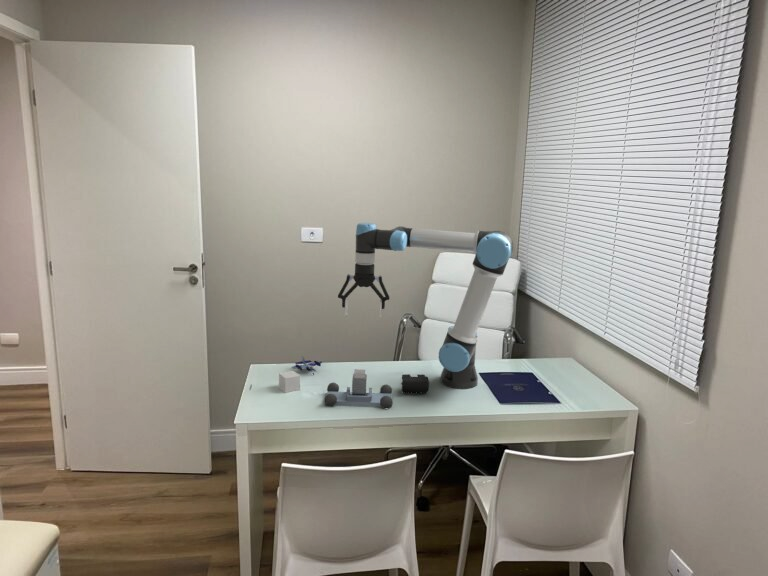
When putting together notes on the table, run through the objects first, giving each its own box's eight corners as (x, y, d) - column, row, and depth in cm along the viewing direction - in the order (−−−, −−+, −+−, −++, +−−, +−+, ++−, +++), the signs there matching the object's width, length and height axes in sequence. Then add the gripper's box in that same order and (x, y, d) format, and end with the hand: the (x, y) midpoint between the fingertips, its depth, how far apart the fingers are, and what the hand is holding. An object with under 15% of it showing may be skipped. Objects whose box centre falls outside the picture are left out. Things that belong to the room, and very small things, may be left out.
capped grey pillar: (365, 394, 214) (366, 369, 212) (365, 400, 209) (366, 374, 207) (352, 394, 214) (353, 368, 212) (351, 399, 209) (352, 373, 207)
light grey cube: (285, 393, 217) (285, 378, 215) (279, 388, 222) (278, 373, 220) (300, 390, 220) (300, 375, 219) (293, 385, 225) (293, 370, 224)
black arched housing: (402, 396, 218) (403, 379, 217) (400, 389, 225) (401, 372, 224) (428, 396, 219) (429, 379, 218) (425, 389, 226) (426, 373, 225)
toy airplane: (319, 379, 232) (319, 371, 231) (287, 375, 235) (287, 366, 234) (330, 369, 244) (330, 360, 243) (300, 365, 247) (300, 357, 247)
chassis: (391, 395, 218) (392, 384, 217) (392, 408, 206) (392, 397, 205) (327, 393, 218) (327, 382, 217) (324, 406, 206) (324, 395, 205)
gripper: (396, 262, 226) (394, 314, 231) (333, 260, 226) (332, 312, 231) (397, 266, 219) (394, 319, 224) (331, 263, 219) (330, 317, 223)
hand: (363, 316), depth 227 cm, fingers open, 13 cm apart
